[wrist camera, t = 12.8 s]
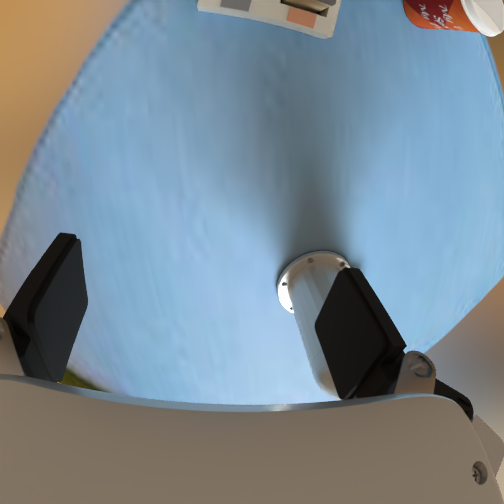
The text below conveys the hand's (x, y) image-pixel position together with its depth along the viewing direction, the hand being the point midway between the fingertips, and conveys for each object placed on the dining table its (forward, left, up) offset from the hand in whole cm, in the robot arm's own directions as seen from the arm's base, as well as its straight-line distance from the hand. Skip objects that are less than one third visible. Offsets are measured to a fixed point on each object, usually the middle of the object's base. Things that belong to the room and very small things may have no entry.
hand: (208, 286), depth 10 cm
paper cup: (-23, -26, -28) cm, 45 cm away
